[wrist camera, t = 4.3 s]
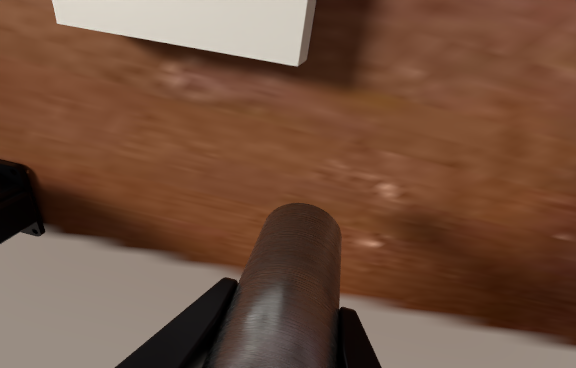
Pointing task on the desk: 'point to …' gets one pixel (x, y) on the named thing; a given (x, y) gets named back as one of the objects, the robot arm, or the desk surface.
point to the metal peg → (285, 296)
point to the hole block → (203, 24)
